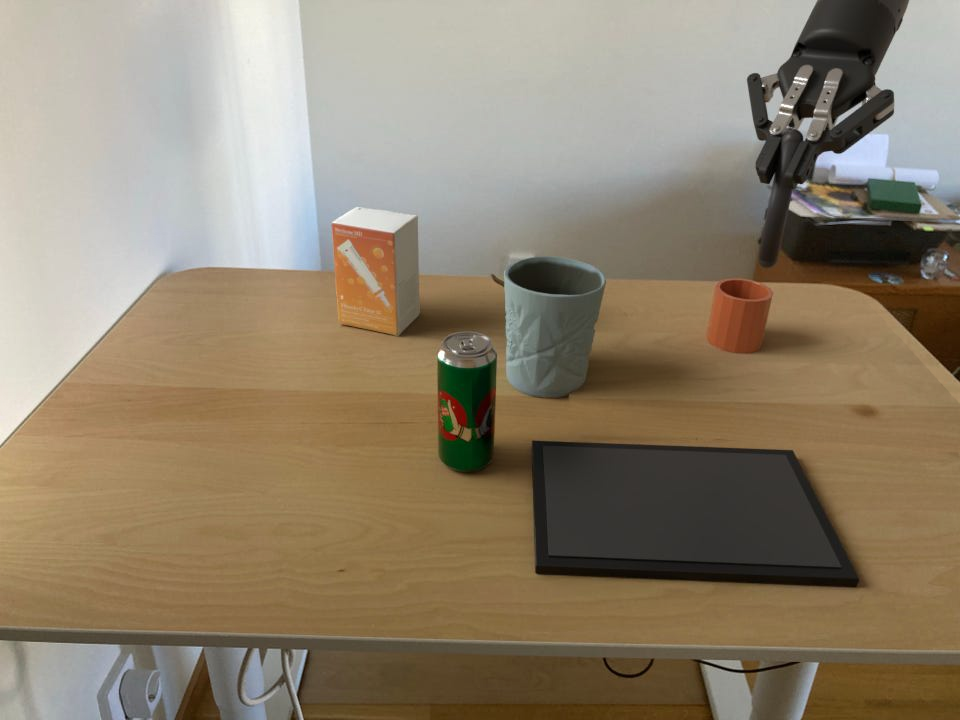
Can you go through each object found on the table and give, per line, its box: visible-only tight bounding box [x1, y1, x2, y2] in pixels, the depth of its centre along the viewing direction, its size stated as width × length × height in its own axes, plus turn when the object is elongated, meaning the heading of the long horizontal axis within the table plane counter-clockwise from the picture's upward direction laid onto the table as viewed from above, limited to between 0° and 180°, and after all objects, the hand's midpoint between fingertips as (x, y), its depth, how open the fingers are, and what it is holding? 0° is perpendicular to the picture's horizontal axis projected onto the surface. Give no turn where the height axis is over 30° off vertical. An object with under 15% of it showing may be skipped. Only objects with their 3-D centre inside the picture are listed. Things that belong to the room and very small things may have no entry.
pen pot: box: [705, 277, 774, 354], centre depth 89 cm, size 6×6×7 cm
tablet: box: [530, 439, 860, 588], centre depth 65 cm, size 24×16×1 cm, turn 88°
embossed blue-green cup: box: [503, 255, 607, 399], centre depth 81 cm, size 10×10×12 cm
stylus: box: [757, 129, 804, 269], centre depth 71 cm, size 2×2×13 cm
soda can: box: [436, 331, 498, 473], centre depth 68 cm, size 5×5×12 cm
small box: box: [331, 206, 421, 337], centre depth 91 cm, size 8×6×13 cm
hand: (776, 180), depth 68 cm, fingers closed on stylus, 2 cm apart
